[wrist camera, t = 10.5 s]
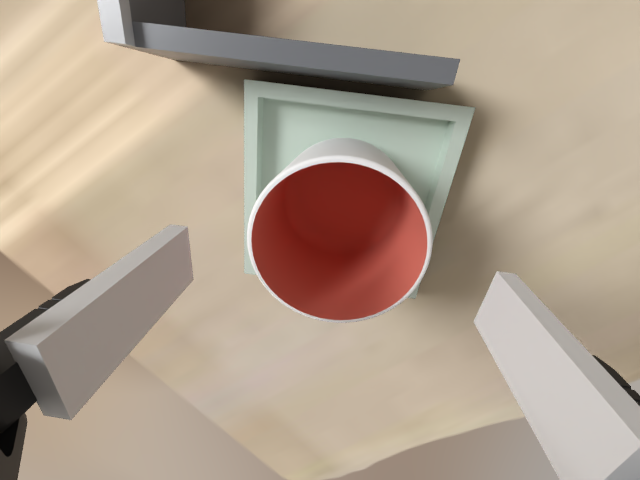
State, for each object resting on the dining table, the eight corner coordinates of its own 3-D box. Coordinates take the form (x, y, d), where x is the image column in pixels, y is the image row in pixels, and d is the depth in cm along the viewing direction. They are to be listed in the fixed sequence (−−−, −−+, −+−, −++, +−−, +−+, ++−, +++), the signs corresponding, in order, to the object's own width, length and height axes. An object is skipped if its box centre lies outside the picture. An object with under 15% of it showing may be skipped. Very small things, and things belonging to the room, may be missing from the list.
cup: (261, 179, 24) (208, 221, 15) (364, 108, 21) (374, 110, 12) (324, 267, 28) (311, 345, 18) (422, 216, 25) (464, 281, 15)
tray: (253, 81, 22) (244, 79, 20) (464, 107, 21) (475, 107, 19) (251, 262, 29) (244, 273, 27) (411, 285, 28) (415, 298, 26)
